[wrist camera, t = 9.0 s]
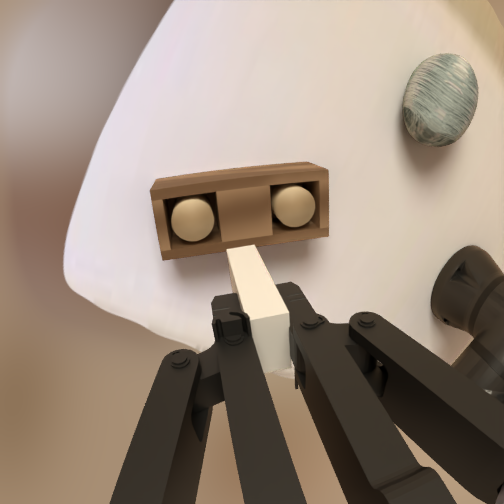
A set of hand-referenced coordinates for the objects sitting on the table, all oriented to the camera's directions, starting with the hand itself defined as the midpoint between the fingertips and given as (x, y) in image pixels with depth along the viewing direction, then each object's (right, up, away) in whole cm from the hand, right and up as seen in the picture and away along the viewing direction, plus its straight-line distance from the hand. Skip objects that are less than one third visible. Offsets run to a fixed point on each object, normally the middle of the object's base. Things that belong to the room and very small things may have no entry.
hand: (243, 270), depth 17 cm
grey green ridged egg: (+23, +22, +18) cm, 36 cm away
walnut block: (-1, +7, +18) cm, 20 cm away
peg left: (-6, +6, +18) cm, 20 cm away
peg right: (+4, +8, +19) cm, 21 cm away
